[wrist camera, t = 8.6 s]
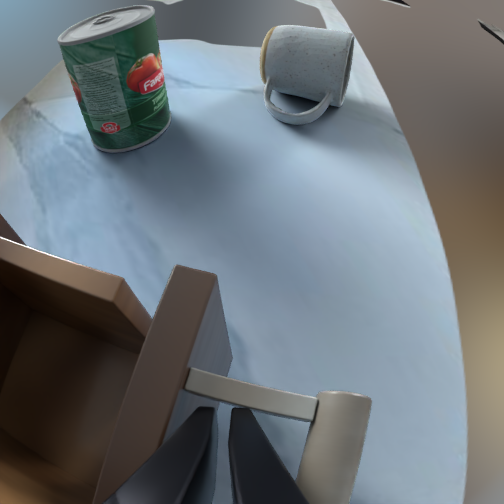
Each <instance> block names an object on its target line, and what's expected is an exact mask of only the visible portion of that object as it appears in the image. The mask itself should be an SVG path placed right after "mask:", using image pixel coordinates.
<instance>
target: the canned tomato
mask: <svg viewBox="0 0 504 504" xmlns="http://www.w3.org/2000/svg"><path fill="white" fill-rule="evenodd" d="M154 11H155V10H154V8H153V7H151V6H146V5H138V6H129V7H123V8H118V9H114V10H110V11H107V12H104V13H101V14H98V15H95V16H92V17H90V18H87V19H85V20H83V21H81V22H79V23H77V24H75V25H73V26H72V27H70V28H68V29H67V30H66V31H64V32H63V33H62V34H61V35H60V36H59V37H58V40H57V41H58V43H59V45H60V48H61V51H62V55H63V59H64V62H65V65H66V68H67V71H68V75H69V77H70V80H71V84H72V86H73V90H74V92H75V95H76V99H77V101H78V104H79V107H80V109H81V113H82V115H83V118H84V121H85V123H86V126H87V128H88V131H89V133H90V136H91V140H92V143H93V145H94V146H95V147H96V148H97V149H99V150H101V151H104V152H109V153H119V152H126V151H130V150H134V149H137V148H140V147H142V146H144V145H146V144H149V143H150V142H152V141H154V140H155V139H157V138H158V137H159V136H160V135H162V134H163V133H164V131H165V130H166V129H167V128H168V126H169V124H170V122H171V112H170V110H169V104H168V97H167V91H166V87H165V81H164V75H163V68H162V60H161V56H160V50H159V43H158V36H157V28H156V23H155V16H154Z"/></svg>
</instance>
